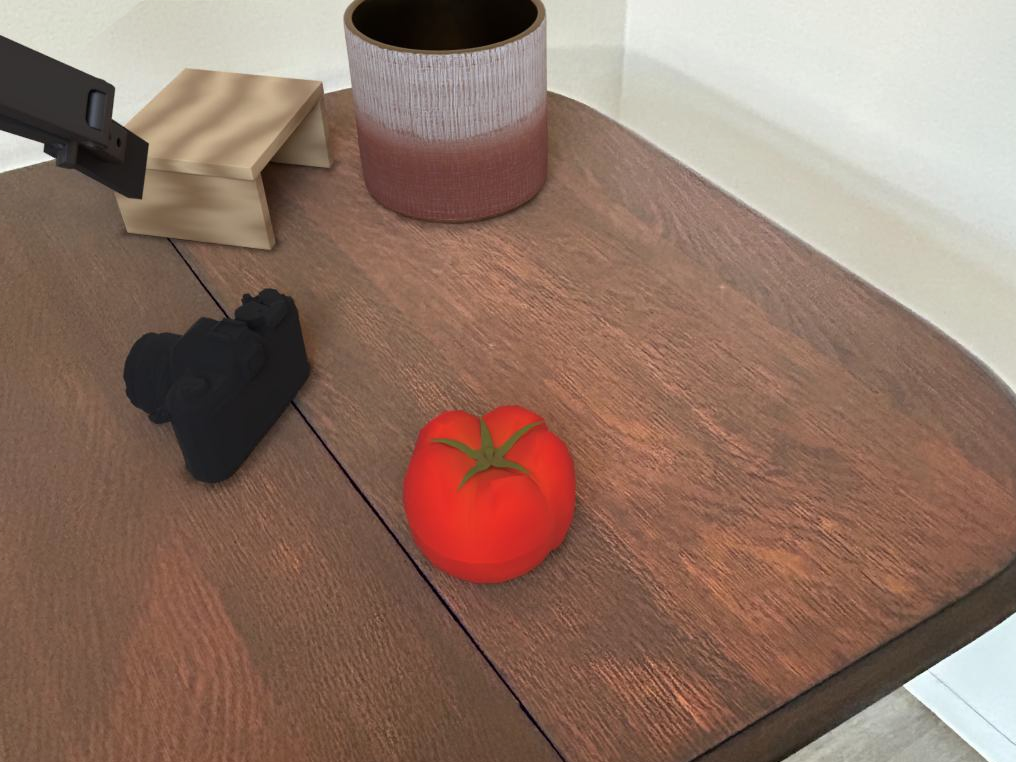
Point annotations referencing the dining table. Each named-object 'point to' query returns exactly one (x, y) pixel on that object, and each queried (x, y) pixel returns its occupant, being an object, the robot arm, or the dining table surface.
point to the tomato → (489, 493)
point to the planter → (450, 104)
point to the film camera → (221, 380)
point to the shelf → (222, 154)
